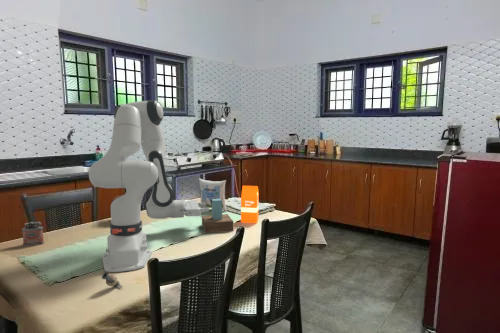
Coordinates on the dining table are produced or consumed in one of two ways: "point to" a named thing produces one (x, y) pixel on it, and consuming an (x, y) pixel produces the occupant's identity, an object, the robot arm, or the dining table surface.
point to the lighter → (32, 234)
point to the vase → (111, 280)
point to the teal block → (216, 209)
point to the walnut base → (217, 224)
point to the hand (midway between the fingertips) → (207, 207)
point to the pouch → (212, 192)
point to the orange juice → (249, 204)
